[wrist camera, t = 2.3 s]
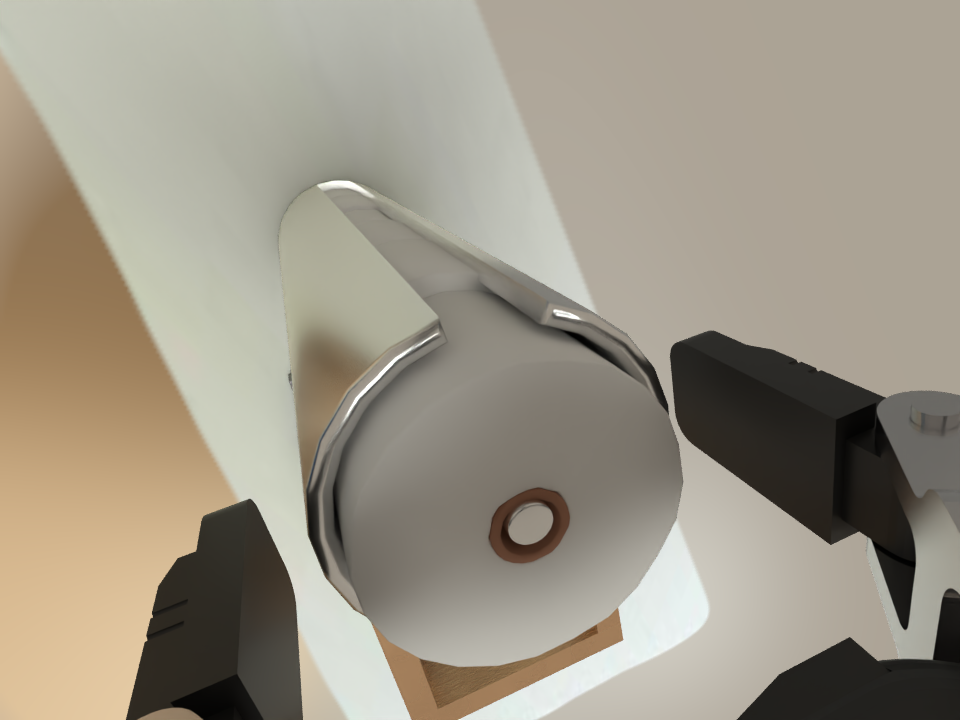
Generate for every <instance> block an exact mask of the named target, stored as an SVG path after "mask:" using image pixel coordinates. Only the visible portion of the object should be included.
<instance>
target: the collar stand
mask: <svg viewBox="0 0 960 720" xmlns="http://www.w3.org/2000/svg"><path fill="white" fill-rule="evenodd" d="M289 383H290V385H291V388H292V390H293V385H292V375H291V374H289ZM371 623H372V622H371ZM372 625H373V624H372ZM373 628H374V630H375V633H376V635H377V637H378V640H379V642H380V645H381V647H382V649H383V652H384V654H385V657H386V659H387V662H388V664H389V666H390V669H391V671H392V674H393V676H394V678H395V681H396V683H397V686H398V688H399V690H400V693H401V695H402V698H403V700H404V702H405V705H406V707H407V710H408V712H409V714H410V717H411V719H412V720H458V719H460V718H462V717H464V716H466V715H468V714H471V713H473V712H475V711H477V710H479V709H481V708H483V707H485V706H487V705H489V704H491V703H493V702H495V701H498V700H500V699H502V698H504V697H506V696H508V695H510V694H512V693H514V692H516V691H518V690H520V689H522V688H525V687H527V686H529V685H531V684H533V683H535V682H537V681H539V680H541V679H543V678H545V677H547V676H549V675H552V674H554V673H556V672H558V671H560V670H562V669H564V668H566V667H568V666H570V665H572V664H574V663H576V662H579V661H581V660H583V659H585V658H587V657H589V656H591V655H593V654H595V653H597V652H599V651H601V650H603V649H606V648H608V647H610V646H612V645H614V644H616V643H618V642H620V641H622V640H623V636H622V629H621V623H620V617H619V611H618V608H617V609H616V610H615V611H614V612H613V613H612V614H611V615H610V616H609V617H607V618H606V619H604V620H603V621H601V622H599V623H598V624H596V625H595V626H593V627H591V628H590V629H588V630H586V631H585V632H583V633H582V634H580V635H578V636H577V637H575V638H573V639H571V640H569V641H567V642H565V643H563V644H561V645H559V646H557V647H555V648H553V649H551V650H549V651H547V652H545V653H543V654H541V655H539V656H536V657H532V658H528V659H524V660H520V661H516V662H512V663H508V664H504V665H500V666H471V667H457V666H452V665H447V664H442V663H438V662H433V661H428V660H423V659H420V658H418V657H416V656H414V655H413V654H411V653H409V652H407V651H405V650H403V649H401V648H400V647H398V646H396V645H394V644H392V643H390V642H389V641H388V640H387V639H386V638H385V637H384V636H383V635H382V634H381V633H380V631H379V630H378V629H377V628H376V627H375V626H374V625H373Z"/></svg>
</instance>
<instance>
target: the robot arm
mask: <svg viewBox="0 0 960 720" xmlns="http://www.w3.org/2000/svg"><path fill="white" fill-rule="evenodd" d="M670 360H671V371H672V382H673V393H674V404H675V413H676V418H677V422H678V425H679V427H680V429H681V431H682V433H683V434H684V435H685V437H686V438H687V439H688V440H689V441H690V442H691V443H692V444H693V445H694V446H696V447H697V448H699V449H700V450H701V451H703V452H704V453H705V454H707V455H708V456H710V457H711V458H712V459H714V460H715V461H716V462H718V463H719V464H721V465H722V466H723V467H725V468H726V469H727V470H729V471H730V472H731V473H733V474H734V475H736V476H737V477H739V478H740V479H741V480H742V481H744V482H745V483H747V484H748V485H749V486H751V487H752V488H753V489H755V490H756V491H758V492H759V493H760V494H762V495H763V496H764V497H766V498H767V499H769V500H770V501H771V502H773V503H774V504H775V505H777V506H778V507H780V508H781V509H782V510H784V511H785V512H786V513H788V514H789V515H790V516H792V517H793V518H795V519H796V520H797V521H799V522H800V523H801V524H803V525H804V526H806V527H807V528H808V529H810V530H811V531H812V532H814V533H815V534H816V535H818V536H819V537H821V538H822V539H823V540H825V541H826V542H827V543H829V544H830V545H832V544H834V543H836V542H838V541H840V540H842V539H844V538H846V537H848V536H850V535H852V534H855V533H857V532H859V531H860V532H861V533H862V534H864V535H866V536H867V546H866V554H867V558H868V561H869V564H870V567H871V570H872V573H873V576H874V580H875V583H876V586H877V589H878V592H879V595H880V598H881V601H882V605H883V608H884V611H885V614H886V617H887V620H888V623H889V626H890V629H891V632H892V636H893V638H894V642H895V645H896V648H897V652H898V656H899V659H892V660H881V661H877V660H876V659H875V658H874V657H872V656H871V655H870V654H869V653H868V652H867V651H865V650H864V649H863V648H862V647H861V646H860V645H858V644H857V643H856V642H855V641H854V640H853V639H852V638H850V637H849V638H847V639H846V640H844V641H842V642H840V643H838V644H836V645H834V646H832V647H830V648H828V649H827V650H825V651H823V652H821V653H819V654H817V655H815V656H813V657H811V658H809V659H808V660H806V661H804V662H802V663H800V664H798V665H796V666H794V667H792V668H790V669H789V670H787V671H785V672H783V673H781V674H779V675H778V676H777V678H776V679H775V680H774V681H773V682H772V683H771V684H770V685H769V686H768V687H767V688H766V689H765V690H764V691H763V693H762V694H761V695H760V696H759V697H758V698H757V699H756V700H755V701H754V702H753V703H752V704H751V705H750V706H749V707H748V708H747V709H746V710H745V712H744V713H743V714H742V715H741V716H740V717H739V718H738V719H737V720H960V395H956V394H951V393H945V392H938V391H910V392H903V393H898V394H895V395H892V396H889V397H888V398H885V397H882V396H880V395H877V394H876V393H873V392H871V391H869V390H866V389H864V388H862V387H859V386H857V385H854V384H852V383H850V382H847V381H845V380H843V379H840V378H838V377H836V376H833V375H831V374H829V373H826V372H824V371H817V370H816V368H814V367H812V366H810V365H808V364H805V363H803V362H800V363H798V362H797V360H795V359H794V358H791V357H789V356H786V355H784V354H782V353H779V352H777V351H775V350H772V349H766V348H760V347H754V346H749V345H745V344H743V343H741V342H738V341H736V340H734V339H732V338H729V337H727V336H725V335H722V334H720V333H718V332H716V331H707V332H704V333H701V334H699V335H696V336H693V337H691V338H688V339H685V340H682V341H680V342H677V343H675V344H674V345H673V346H672V348H671V353H670ZM152 615H153V618H151V619H150V623H149V627H148V631H147V635H146V636H147V641H146V642H145V643H144V648H143V652H142V656H141V660H140V664H139V668H138V673H137V676H136V681H135V685H134V689H133V693H132V697H131V701H130V705H129V709H128V714H127V717H126V720H303V713H302V696H301V679H300V663H299V647H298V629H297V612H296V601H295V595H294V590H293V587H292V583H291V580H290V577H289V574H288V571H287V569H286V567H285V564H284V562H283V560H282V558H281V556H280V554H279V552H278V550H277V548H276V545H275V543H274V541H273V539H272V537H271V535H270V533H269V531H268V529H267V526H266V524H265V522H264V520H263V518H262V516H261V514H260V512H259V510H258V508H257V506H256V504H255V503H254V502H253V501H252V500H251V499H248V500H245V501H242V502H240V503H237V504H234V505H231V506H229V507H226V508H224V509H221V510H218V511H216V512H213V513H210V514H207V515H205V516H204V517H203V518H202V521H201V527H200V533H199V539H198V545H197V550H196V552H193V553H191V554H188V555H185V556H182V557H180V558H178V559H177V560H176V562H175V563H174V565H173V566H172V567H171V569H170V570H169V572H168V573H167V575H166V576H165V577H164V579H163V580H162V582H161V583H160V585H159V586H158V590H157V594H156V598H155V602H154V606H153V611H152Z"/></svg>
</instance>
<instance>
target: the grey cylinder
mask: <svg viewBox="0 0 960 720" xmlns="http://www.w3.org/2000/svg"><path fill="white" fill-rule="evenodd" d="M278 244H279V258H280V267H281V277H282V287H283V297H284V307H285V316H286V326H287V336H288V346H289V356H290V366H291V375H292V385H293V395H294V405H295V415H296V424H297V434H298V444H299V454H300V464H301V474H302V483H303V493H304V503H305V513H306V523H307V532H308V537H309V539H310V542H311V544H312V547H313V549H314V552H315V554H316V556H317V559H318V561H319V564H320V566H321V569H322V571H323V574H324V576H325V578H326V579H327V580H328V581H329V582H330V583H331V585H332V586H333V587H334V588H335V589H336V590H337V591H338V592H339V594H340V595H341V596H342V597H343V598H344V599H345V600H346V601H347V603H348V604H349V605H350V606H351V607H352V608H353V609H354V610H355V611H357V612H359V613H361V614H362V615H364V616H366V617H367V618H368V619H369V620H370V621H371V622H372V624H373V625H374V626H375V627H376V628H377V629H378V630H379V631H380V633H381V634H382V635H383V636H384V637H385V638H386V639H387V640H388V641H389V642H390V643H392V644H394V645H396V646H398V647H400V648H401V649H403V650H405V651H407V652H409V653H411V654H413V655H414V656H416V657H418V658H420V659H423V660H428V661H433V662H438V663H442V664H447V665H452V666H457V667H471V666H500V665H504V664H508V663H512V662H516V661H520V660H524V659H528V658H532V657H536V656H539V655H541V654H543V653H545V652H547V651H549V650H551V649H553V648H555V647H557V646H559V645H561V644H563V643H565V642H567V641H569V640H571V639H573V638H575V637H577V636H578V635H580V634H582V633H583V632H585V631H586V630H588V629H590V628H591V627H593V626H595V625H596V624H598V623H599V622H601V621H603V620H604V619H606V618H607V617H609V616H610V615H611V614H612V613H613V612H614V611H615V610H616V609H617V608H618V607H619V606H620V605H621V603H622V602H623V601H624V600H625V599H626V598H627V597H628V596H629V595H630V594H631V593H632V592H633V591H634V590H635V589H636V588H637V587H638V585H639V583H640V582H641V580H642V579H643V577H644V576H645V574H646V573H647V571H648V570H649V568H650V566H651V565H652V563H653V562H654V560H655V559H656V557H657V556H658V554H659V552H660V550H661V548H662V546H663V544H664V542H665V540H666V538H667V536H668V534H669V532H670V530H671V528H672V526H673V524H674V522H675V520H676V518H677V512H678V507H679V502H680V497H681V491H682V486H683V476H682V467H681V460H680V452H679V444H678V441H677V438H676V435H675V433H674V430H673V427H672V424H671V421H670V419H669V411H668V404H667V401H666V398H665V395H664V393H663V390H662V387H661V385H660V382H659V379H658V377H657V374H656V371H655V369H654V367H653V366H652V364H651V363H650V362H649V361H648V359H647V358H646V357H645V356H644V354H643V353H642V352H641V351H640V349H639V348H638V347H637V346H636V344H634V342H633V341H632V340H631V338H630V337H629V336H628V335H627V334H626V333H625V332H623V331H622V330H620V329H619V328H617V327H615V326H614V325H612V324H611V323H609V322H607V321H606V320H604V319H603V318H601V317H600V316H598V315H597V314H595V313H593V312H592V311H590V310H589V309H587V308H585V307H583V306H581V305H580V304H578V303H576V302H574V301H572V300H571V299H569V298H567V297H565V296H563V295H562V294H560V293H558V292H556V291H554V290H553V289H551V288H549V287H547V286H545V285H544V284H542V283H540V282H538V281H536V280H535V279H533V278H531V277H529V276H527V275H526V274H524V273H522V272H520V271H518V270H517V269H515V268H513V267H511V266H510V265H508V264H506V263H504V262H502V261H501V260H499V259H497V258H495V257H493V256H492V255H490V254H488V253H486V252H484V251H483V250H481V249H479V248H477V247H475V246H474V245H472V244H470V243H468V242H466V241H465V240H463V239H461V238H459V237H457V236H456V235H454V234H452V233H450V232H448V231H447V230H445V229H443V228H441V227H439V226H438V225H436V224H434V223H432V222H430V221H429V220H427V219H425V218H423V217H422V216H420V215H418V214H416V213H414V212H413V211H411V210H409V209H407V208H405V207H404V206H402V205H400V204H398V203H396V202H395V201H393V200H391V199H389V198H387V197H386V196H384V195H382V194H380V193H378V192H377V191H375V190H373V189H371V188H369V187H368V186H365V185H362V184H359V183H355V182H352V181H338V180H333V181H328V182H324V183H320V184H316V185H314V186H313V187H311V188H309V189H307V190H306V191H304V192H302V193H301V194H300V195H299V196H298V197H297V198H296V199H295V200H294V201H293V202H292V203H291V204H290V205H289V207H288V209H287V211H286V213H285V214H284V216H283V218H282V220H281V225H280V229H279V234H278Z"/></svg>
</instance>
